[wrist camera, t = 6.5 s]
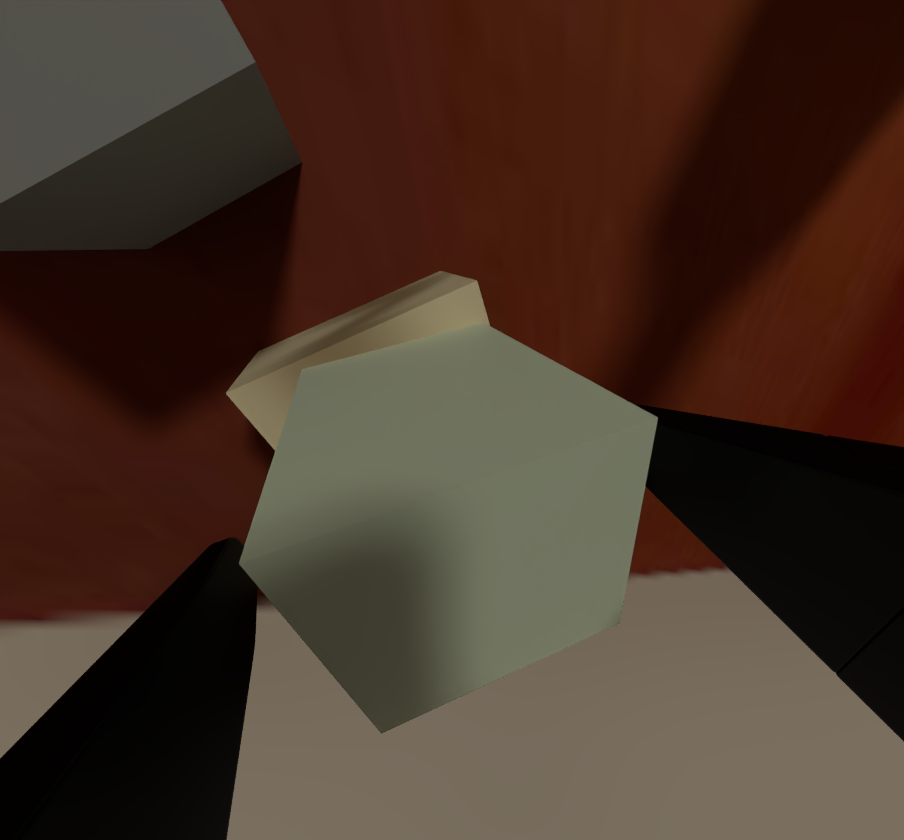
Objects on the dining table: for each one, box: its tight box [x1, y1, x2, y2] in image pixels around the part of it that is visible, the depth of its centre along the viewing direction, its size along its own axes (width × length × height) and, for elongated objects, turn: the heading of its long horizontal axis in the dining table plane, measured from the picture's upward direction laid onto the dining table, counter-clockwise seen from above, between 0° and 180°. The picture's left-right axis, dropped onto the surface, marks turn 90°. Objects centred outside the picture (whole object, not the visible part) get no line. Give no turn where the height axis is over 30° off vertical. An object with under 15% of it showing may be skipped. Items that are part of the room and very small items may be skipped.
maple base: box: [226, 271, 490, 451], centre depth 12 cm, size 7×7×4 cm
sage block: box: [239, 322, 658, 733], centre depth 7 cm, size 5×5×6 cm
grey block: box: [0, 0, 302, 251], centre depth 5 cm, size 5×5×6 cm
